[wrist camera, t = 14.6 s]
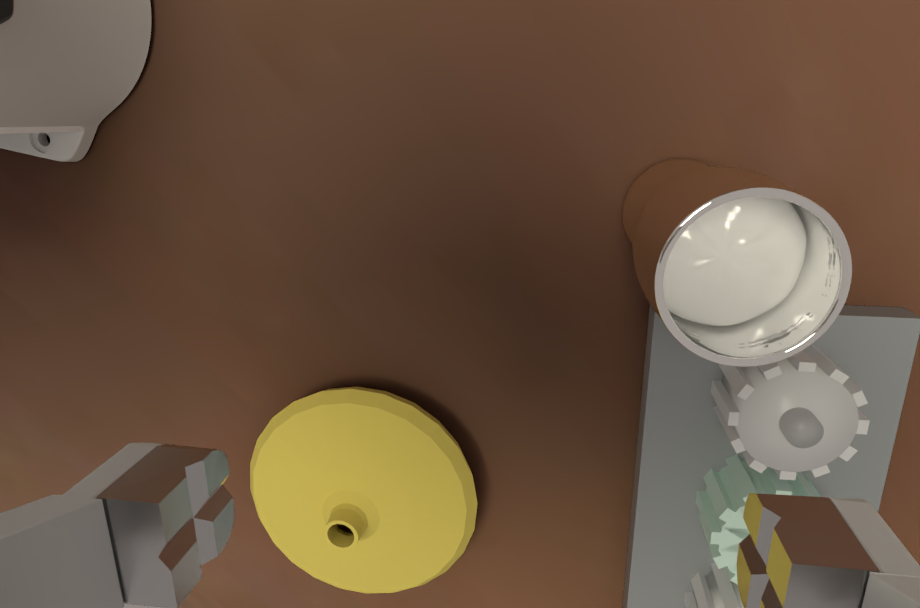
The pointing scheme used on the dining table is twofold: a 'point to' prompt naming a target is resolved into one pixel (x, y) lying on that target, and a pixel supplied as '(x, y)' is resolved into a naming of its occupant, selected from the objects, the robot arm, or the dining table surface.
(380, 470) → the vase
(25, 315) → the dining table surface
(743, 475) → the loose gear
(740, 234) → the beer glass
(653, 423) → the gear board
